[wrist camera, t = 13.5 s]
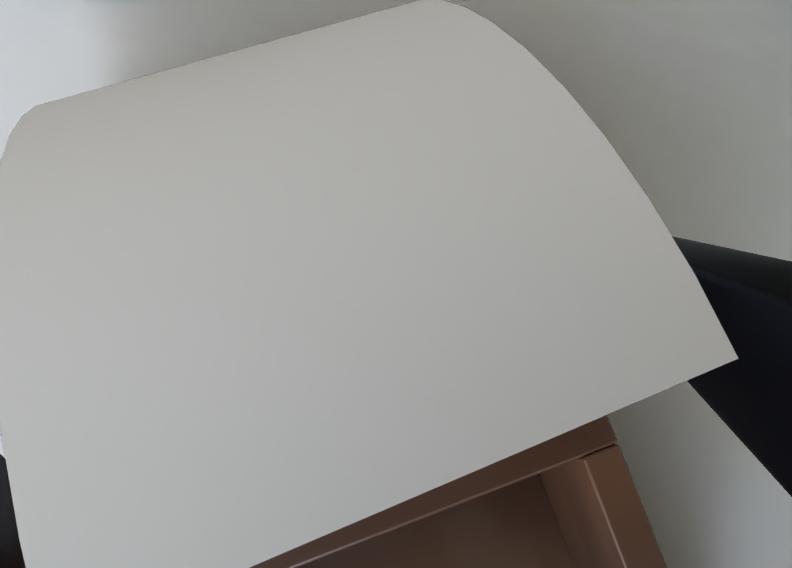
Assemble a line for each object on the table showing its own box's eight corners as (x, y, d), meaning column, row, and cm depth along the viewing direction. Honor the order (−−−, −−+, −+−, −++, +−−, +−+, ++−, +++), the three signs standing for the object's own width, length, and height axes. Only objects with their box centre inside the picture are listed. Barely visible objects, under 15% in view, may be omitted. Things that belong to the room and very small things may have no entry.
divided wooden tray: (684, 792, 15) (811, 930, 11) (295, 988, 13) (279, 1236, 9) (429, 110, 18) (456, 28, 14) (89, 202, 17) (11, 137, 13)
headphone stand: (272, 461, 15) (37, 658, 3) (199, 245, 16) (-184, -214, 4) (439, 396, 16) (741, 361, 4) (360, 193, 17) (417, -319, 5)
